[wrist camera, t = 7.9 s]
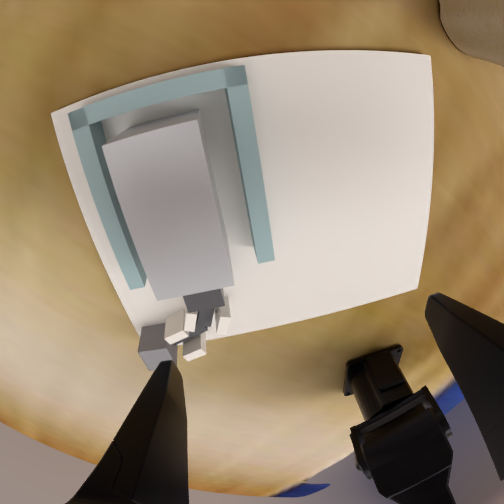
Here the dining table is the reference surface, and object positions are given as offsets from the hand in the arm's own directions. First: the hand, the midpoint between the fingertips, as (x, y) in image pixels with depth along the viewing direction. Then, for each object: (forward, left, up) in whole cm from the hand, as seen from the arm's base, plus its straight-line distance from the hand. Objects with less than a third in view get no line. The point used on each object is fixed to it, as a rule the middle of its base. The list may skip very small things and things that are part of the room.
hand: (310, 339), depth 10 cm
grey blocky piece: (-7, +7, -11) cm, 15 cm away
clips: (-7, +6, -11) cm, 14 cm away
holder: (+3, +4, -11) cm, 12 cm away
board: (-1, -1, -12) cm, 12 cm away
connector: (+1, +4, -11) cm, 12 cm away
